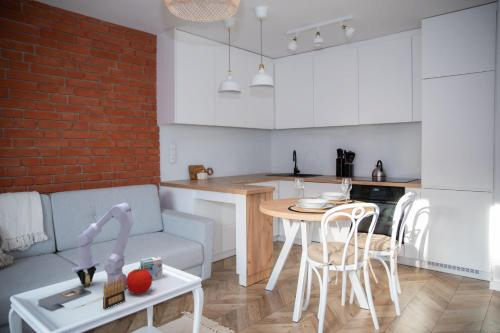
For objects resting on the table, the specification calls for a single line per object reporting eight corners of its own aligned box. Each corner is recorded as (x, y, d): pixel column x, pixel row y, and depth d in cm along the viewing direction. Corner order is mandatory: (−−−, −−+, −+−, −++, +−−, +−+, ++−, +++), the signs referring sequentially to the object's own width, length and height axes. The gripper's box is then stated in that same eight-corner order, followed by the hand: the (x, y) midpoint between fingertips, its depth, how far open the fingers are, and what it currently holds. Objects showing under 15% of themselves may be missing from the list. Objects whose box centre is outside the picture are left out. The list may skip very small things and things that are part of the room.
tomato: (145, 285, 191) (144, 263, 191) (157, 292, 181) (156, 269, 181) (122, 291, 183) (121, 269, 183) (133, 299, 173) (132, 275, 173)
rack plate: (91, 296, 178) (91, 291, 178) (52, 311, 163) (51, 304, 162) (77, 291, 185) (77, 286, 185) (38, 305, 169) (38, 299, 169)
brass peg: (91, 285, 189) (91, 273, 189) (85, 287, 187) (85, 275, 186) (87, 284, 191) (87, 272, 191) (81, 286, 189) (81, 274, 188)
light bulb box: (144, 282, 197) (143, 262, 196) (140, 278, 202) (139, 259, 202) (163, 278, 203) (162, 258, 202) (159, 274, 208) (158, 255, 208)
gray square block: (95, 287, 190) (95, 284, 190) (84, 291, 185) (84, 288, 185) (88, 285, 193) (88, 282, 193) (78, 289, 188) (77, 286, 188)
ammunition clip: (105, 309, 163) (104, 282, 163) (102, 308, 164) (101, 281, 164) (125, 300, 172) (124, 275, 172) (122, 300, 173) (121, 274, 173)
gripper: (93, 252, 197) (94, 277, 197) (67, 259, 185) (68, 285, 185) (101, 254, 193) (102, 279, 193) (75, 261, 181) (76, 288, 181)
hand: (86, 283), depth 189 cm, fingers closed on brass peg, 3 cm apart
